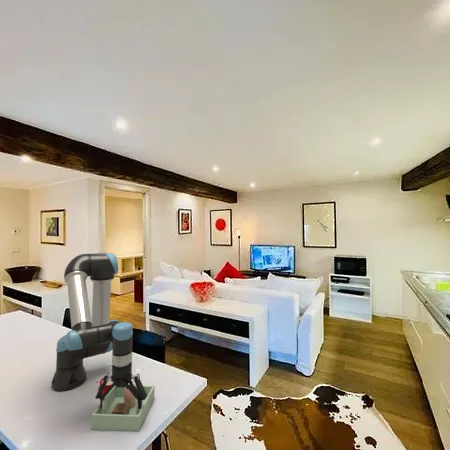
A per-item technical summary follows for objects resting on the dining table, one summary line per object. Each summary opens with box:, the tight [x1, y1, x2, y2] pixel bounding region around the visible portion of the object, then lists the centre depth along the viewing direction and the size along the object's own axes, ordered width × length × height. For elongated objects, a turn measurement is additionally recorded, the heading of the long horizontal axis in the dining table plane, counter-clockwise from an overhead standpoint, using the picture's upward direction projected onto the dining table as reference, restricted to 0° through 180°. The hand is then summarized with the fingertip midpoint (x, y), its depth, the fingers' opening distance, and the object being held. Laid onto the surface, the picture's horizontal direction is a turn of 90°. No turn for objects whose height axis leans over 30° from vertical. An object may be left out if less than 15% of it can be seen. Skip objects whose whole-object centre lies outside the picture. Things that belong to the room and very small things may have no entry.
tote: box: [90, 384, 156, 432], centre depth 109 cm, size 19×20×6 cm
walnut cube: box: [112, 403, 129, 415], centre depth 104 cm, size 5×5×5 cm
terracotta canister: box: [124, 386, 136, 409], centre depth 113 cm, size 5×5×7 cm
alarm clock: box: [95, 377, 113, 394], centre depth 125 cm, size 10×6×15 cm
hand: (121, 415), depth 105 cm, fingers open, 13 cm apart
